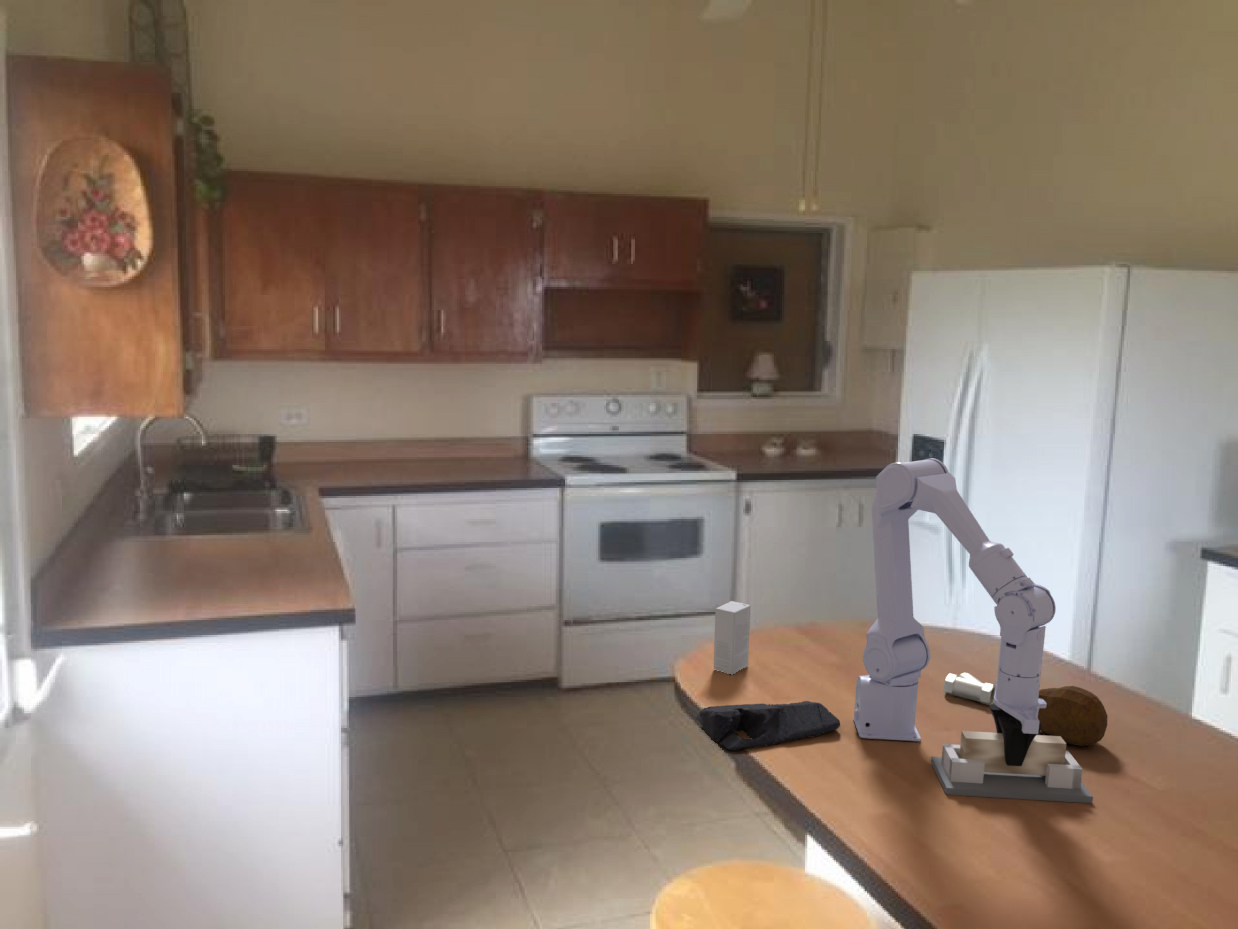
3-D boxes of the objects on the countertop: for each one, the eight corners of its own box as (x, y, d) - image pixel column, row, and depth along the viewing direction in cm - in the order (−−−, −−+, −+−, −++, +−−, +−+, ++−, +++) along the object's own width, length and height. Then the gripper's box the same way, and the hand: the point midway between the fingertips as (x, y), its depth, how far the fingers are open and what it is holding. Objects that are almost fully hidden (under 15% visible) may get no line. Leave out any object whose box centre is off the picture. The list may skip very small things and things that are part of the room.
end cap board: (946, 794, 149) (948, 768, 148) (930, 762, 159) (932, 737, 158) (1092, 803, 147) (1095, 776, 147) (1067, 770, 157) (1070, 745, 156)
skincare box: (728, 661, 199) (731, 600, 197) (748, 666, 196) (751, 604, 194) (712, 670, 194) (714, 607, 192) (732, 676, 191) (735, 612, 189)
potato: (1051, 719, 176) (1056, 669, 174) (1118, 746, 166) (1124, 694, 164) (1019, 730, 171) (1024, 679, 170) (1085, 758, 161) (1091, 704, 160)
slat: (963, 771, 152) (965, 738, 151) (958, 763, 154) (961, 731, 153) (1062, 776, 151) (1066, 743, 150) (1057, 768, 153) (1060, 736, 152)
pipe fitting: (956, 688, 190) (942, 696, 185) (959, 667, 190) (945, 674, 184) (1001, 700, 185) (988, 708, 180) (1004, 678, 185) (990, 686, 179)
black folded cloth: (852, 743, 166) (854, 714, 165) (721, 756, 160) (722, 726, 159) (809, 705, 180) (811, 678, 180) (688, 715, 174) (689, 688, 174)
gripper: (1065, 691, 143) (1055, 785, 145) (1032, 654, 157) (1024, 740, 159) (1012, 688, 143) (1003, 782, 145) (984, 651, 157) (976, 737, 160)
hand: (1010, 760), depth 152 cm, fingers closed on slat, 2 cm apart
